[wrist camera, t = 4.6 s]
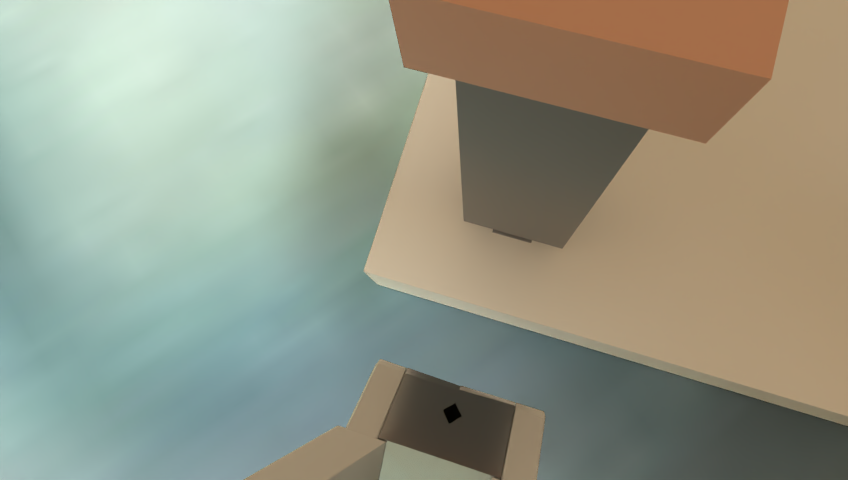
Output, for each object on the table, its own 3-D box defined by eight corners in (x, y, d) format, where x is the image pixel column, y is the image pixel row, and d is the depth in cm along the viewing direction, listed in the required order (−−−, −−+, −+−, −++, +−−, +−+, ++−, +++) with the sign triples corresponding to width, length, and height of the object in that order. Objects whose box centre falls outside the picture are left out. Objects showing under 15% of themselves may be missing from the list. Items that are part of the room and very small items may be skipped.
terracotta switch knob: (583, 263, 19) (771, 79, 7) (439, 222, 19) (385, -13, 8) (609, 168, 19) (824, -154, 7) (467, 130, 20) (459, -223, 8)
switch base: (1093, 500, 19) (1208, 523, 16) (377, 284, 22) (363, 270, 19) (1138, 111, 22) (1246, 69, 19) (481, -38, 25) (483, -96, 22)
